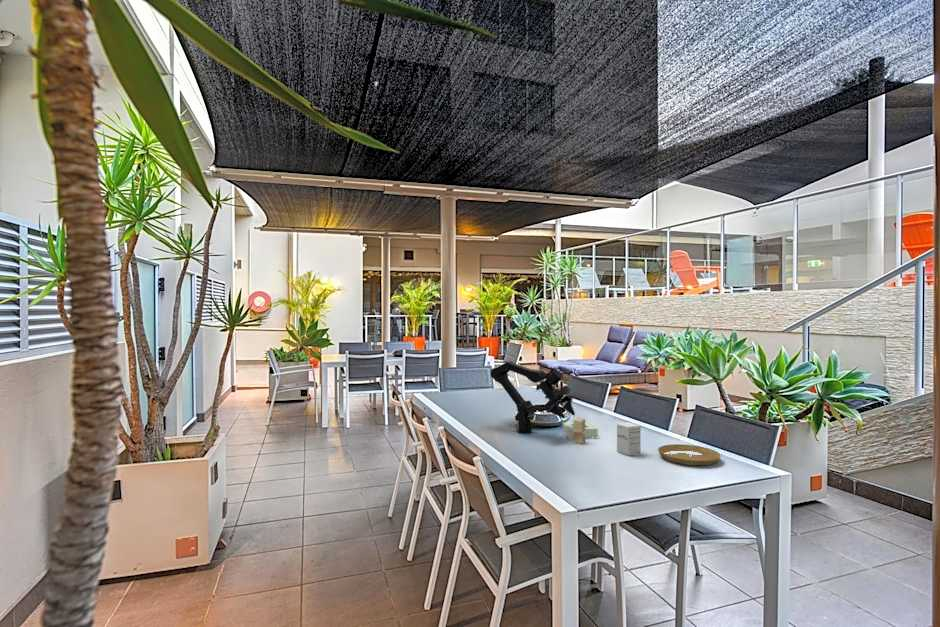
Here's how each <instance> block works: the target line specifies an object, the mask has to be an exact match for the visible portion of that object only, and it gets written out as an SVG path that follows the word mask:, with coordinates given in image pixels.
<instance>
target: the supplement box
mask: <svg viewBox="0 0 940 627" xmlns="http://www.w3.org/2000/svg"><path fill="white" fill-rule="evenodd" d="M641 427H642V426H641V425H640V424H637V423H636V424H635V423H633V422H629V421H626V422H625V421H624V422H619V423H617V424H616V452H618V453H620V454H623V455H625V456H629V457H631V456H636V455H635V454H637V455H641V446H642V444H641V440H642V439H641V434H642V433H641V432H642V430H641ZM630 455H631V456H630Z"/></svg>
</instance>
